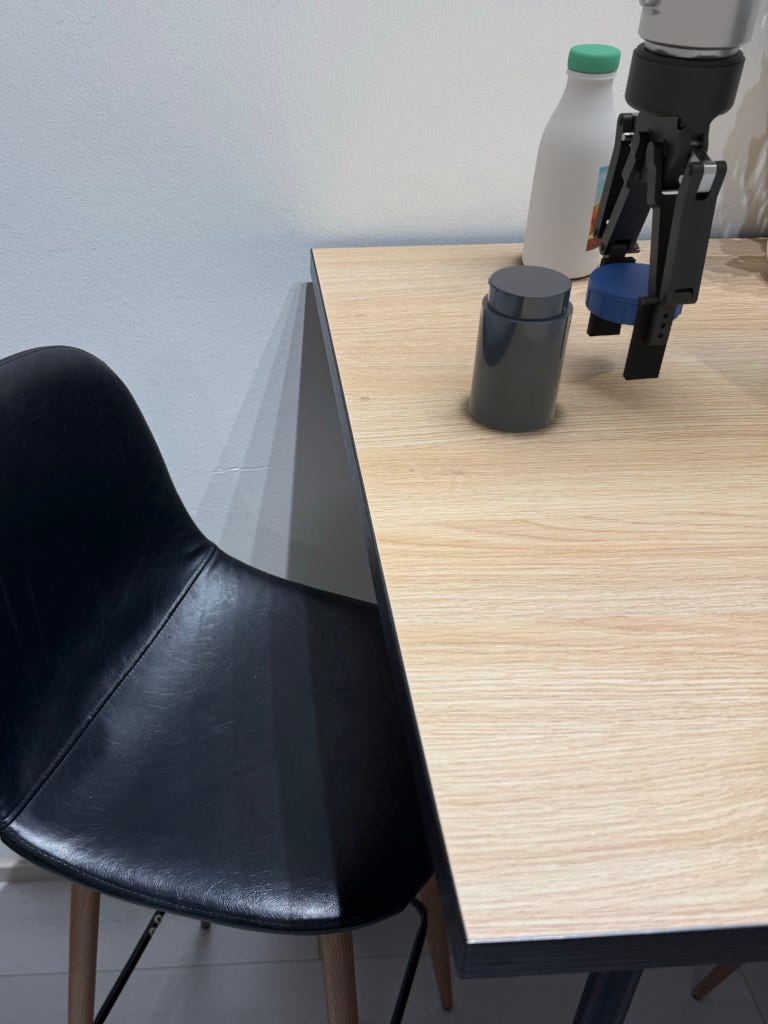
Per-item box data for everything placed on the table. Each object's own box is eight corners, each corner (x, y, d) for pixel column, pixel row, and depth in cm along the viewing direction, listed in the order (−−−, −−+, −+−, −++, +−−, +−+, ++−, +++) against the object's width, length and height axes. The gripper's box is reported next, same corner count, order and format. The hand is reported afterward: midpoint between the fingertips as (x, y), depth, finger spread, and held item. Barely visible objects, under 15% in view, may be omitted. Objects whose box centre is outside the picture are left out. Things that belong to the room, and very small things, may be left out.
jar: (528, 386, 87) (549, 258, 80) (569, 424, 82) (595, 292, 75) (454, 398, 86) (469, 269, 79) (492, 438, 81) (511, 304, 74)
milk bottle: (561, 287, 103) (599, 62, 90) (505, 263, 108) (534, 46, 95) (612, 269, 107) (657, 49, 94) (556, 247, 111) (591, 35, 98)
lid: (567, 308, 84) (572, 281, 82) (613, 281, 88) (618, 255, 86) (653, 335, 80) (659, 307, 79) (696, 305, 84) (703, 278, 83)
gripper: (586, 17, 79) (538, 307, 94) (704, 83, 64) (624, 417, 79) (679, 14, 80) (617, 302, 95) (818, 79, 64) (718, 410, 79)
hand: (620, 354), depth 87 cm, fingers closed on lid, 7 cm apart
